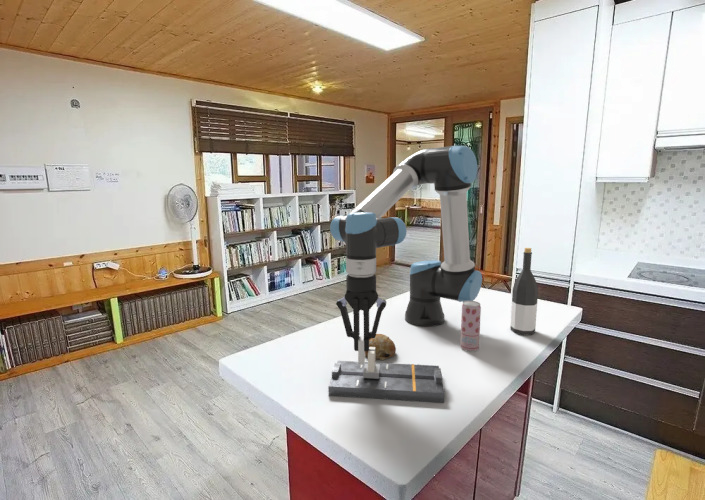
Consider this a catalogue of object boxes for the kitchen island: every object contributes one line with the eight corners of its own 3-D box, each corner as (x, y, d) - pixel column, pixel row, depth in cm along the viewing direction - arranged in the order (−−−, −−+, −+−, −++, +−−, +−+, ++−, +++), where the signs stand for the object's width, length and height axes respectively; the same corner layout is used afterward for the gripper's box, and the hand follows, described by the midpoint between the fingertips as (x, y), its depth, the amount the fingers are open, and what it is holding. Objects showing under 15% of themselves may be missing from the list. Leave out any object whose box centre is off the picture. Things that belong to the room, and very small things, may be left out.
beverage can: (459, 350, 117) (461, 304, 115) (461, 343, 122) (462, 299, 120) (478, 353, 115) (480, 306, 113) (479, 346, 120) (481, 301, 118)
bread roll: (369, 372, 111) (375, 354, 107) (355, 347, 119) (360, 329, 115) (397, 364, 116) (403, 347, 112) (381, 341, 123) (387, 323, 119)
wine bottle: (523, 337, 127) (529, 250, 123) (505, 329, 135) (510, 247, 130) (540, 333, 130) (546, 248, 126) (521, 325, 138) (526, 245, 133)
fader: (363, 377, 95) (363, 353, 94) (365, 368, 100) (365, 345, 99) (378, 378, 95) (378, 354, 93) (379, 369, 99) (380, 346, 98)
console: (328, 395, 92) (328, 380, 92) (338, 368, 106) (337, 355, 105) (444, 402, 88) (444, 387, 88) (438, 374, 102) (438, 360, 102)
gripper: (332, 276, 91) (334, 367, 94) (386, 278, 89) (386, 370, 93) (338, 270, 98) (339, 354, 102) (387, 271, 96) (387, 357, 100)
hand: (361, 362), depth 97 cm, fingers closed
